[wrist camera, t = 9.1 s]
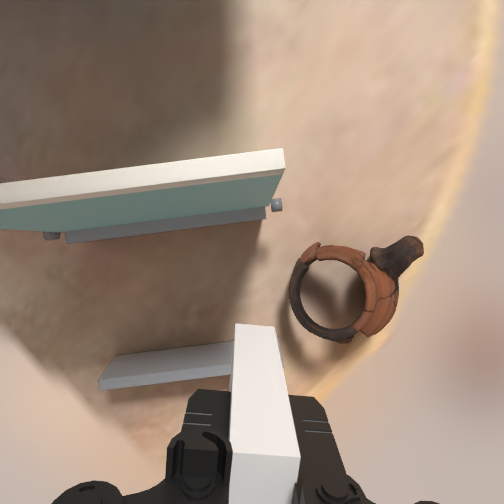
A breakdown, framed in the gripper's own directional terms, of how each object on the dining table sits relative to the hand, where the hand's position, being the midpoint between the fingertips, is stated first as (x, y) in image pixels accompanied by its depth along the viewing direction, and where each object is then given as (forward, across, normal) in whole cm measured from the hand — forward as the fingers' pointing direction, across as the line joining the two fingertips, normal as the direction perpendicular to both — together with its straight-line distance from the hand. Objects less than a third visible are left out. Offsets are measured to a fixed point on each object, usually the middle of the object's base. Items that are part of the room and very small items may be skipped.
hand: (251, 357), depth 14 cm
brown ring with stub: (+21, +10, -2) cm, 23 cm away
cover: (+9, -7, +4) cm, 12 cm away
